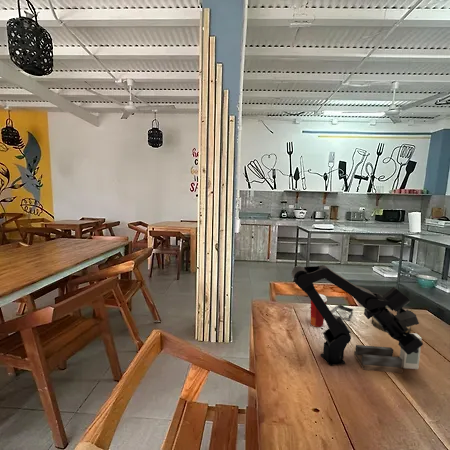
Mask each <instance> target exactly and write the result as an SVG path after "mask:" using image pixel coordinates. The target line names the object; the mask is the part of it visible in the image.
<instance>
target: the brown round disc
mask: <svg viewBox="0 0 450 450" xmlns="http://www.w3.org/2000/svg"><path fill="white" fill-rule="evenodd" d="M370 322H371V324H372V326H373V327H374V328H376V329H377V330H380V331H381V332H384V333H387V334H388V332H387V331H385V330H384V329H383V328H382V327H381V326H380V325H379V323H378V322H377V321H376V320H375V319H374V317H373V316H372V317H371V321H370ZM407 328H408V330H407V331H405V332H409V333H411V330H412V326H409V327H407Z"/></svg>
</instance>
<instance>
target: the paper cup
mask: <svg viewBox="0 0 450 450" xmlns="http://www.w3.org/2000/svg"><path fill="white" fill-rule="evenodd" d="M318 294H319V295H320V297H321V298H322V299H323V301H324V302H325V304H326V305H327V301H328V299H327V296H326V295H324V294H323V293H322V294H321V293H318ZM324 321H325V320H324V318H323V317H322V315H321V314H320V312H319V311H318V309H317V308H316V307H315V305H314V304H313V302H312V301H311V300H310V325H312V327H315V328H316V327H318V328H321V327H323V326H324Z"/></svg>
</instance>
